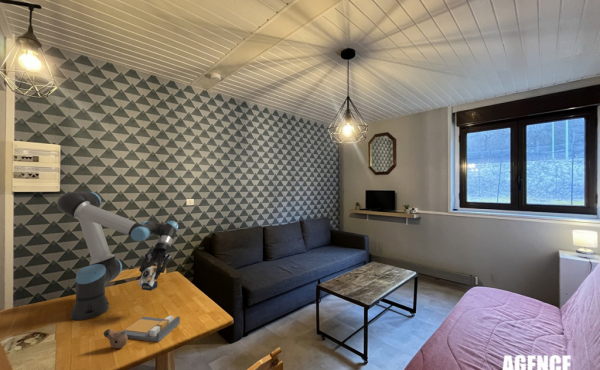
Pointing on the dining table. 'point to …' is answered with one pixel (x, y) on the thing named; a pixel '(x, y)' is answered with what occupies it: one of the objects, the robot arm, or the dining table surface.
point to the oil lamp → (116, 338)
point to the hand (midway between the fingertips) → (145, 285)
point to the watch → (145, 277)
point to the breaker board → (151, 328)
